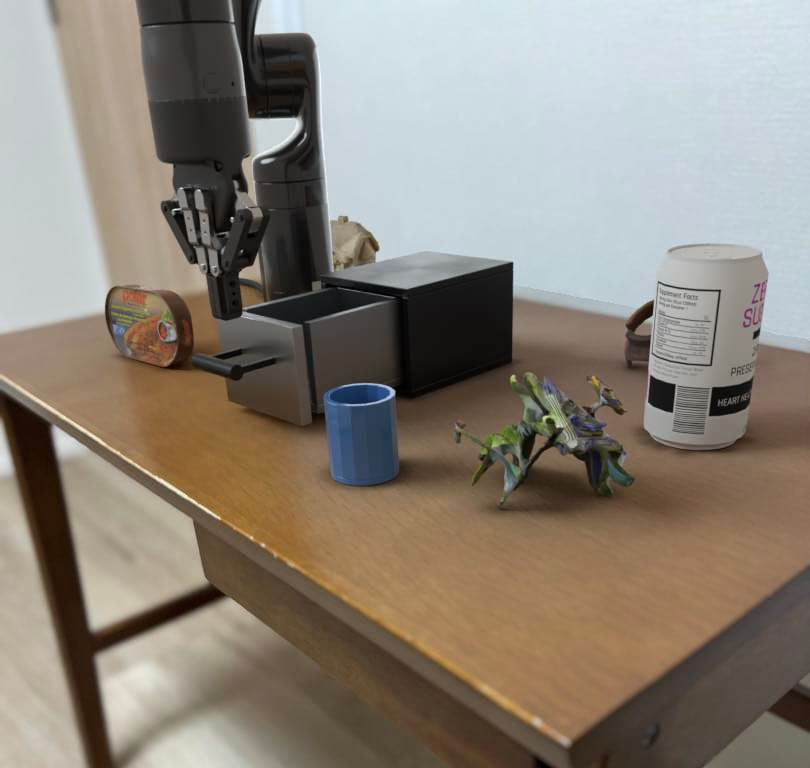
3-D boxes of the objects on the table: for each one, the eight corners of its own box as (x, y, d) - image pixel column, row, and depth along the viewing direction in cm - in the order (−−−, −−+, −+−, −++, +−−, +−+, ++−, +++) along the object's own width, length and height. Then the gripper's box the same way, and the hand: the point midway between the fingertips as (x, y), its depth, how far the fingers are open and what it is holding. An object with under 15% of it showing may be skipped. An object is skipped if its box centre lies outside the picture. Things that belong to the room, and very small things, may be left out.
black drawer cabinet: (412, 399, 86) (407, 289, 81) (328, 376, 94) (319, 274, 89) (512, 362, 95) (513, 261, 90) (428, 343, 103) (425, 250, 98)
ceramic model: (291, 285, 137) (284, 218, 133) (340, 273, 145) (335, 208, 140) (357, 295, 129) (352, 223, 124) (406, 281, 136) (403, 213, 132)
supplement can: (633, 419, 78) (648, 244, 71) (728, 417, 77) (751, 240, 71) (653, 454, 71) (672, 263, 64) (757, 451, 70) (787, 258, 63)
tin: (110, 352, 106) (95, 282, 103) (132, 347, 108) (119, 277, 105) (180, 373, 97) (168, 296, 93) (204, 367, 99) (192, 291, 95)
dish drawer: (257, 442, 75) (243, 340, 71) (184, 414, 82) (168, 320, 78) (416, 385, 87) (412, 295, 82) (340, 366, 94) (333, 282, 90)
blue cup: (317, 473, 70) (309, 396, 67) (367, 453, 74) (361, 378, 71) (363, 492, 67) (357, 411, 64) (413, 469, 70) (410, 391, 67)
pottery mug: (739, 382, 87) (713, 316, 83) (647, 419, 91) (618, 358, 86) (715, 322, 96) (690, 259, 91) (632, 358, 100) (604, 300, 95)
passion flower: (591, 557, 67) (681, 466, 58) (466, 565, 63) (541, 469, 53) (544, 438, 72) (620, 337, 63) (425, 438, 68) (488, 330, 58)
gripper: (288, 89, 66) (310, 320, 74) (191, 92, 74) (220, 299, 82) (203, 94, 61) (236, 340, 69) (110, 97, 70) (150, 315, 78)
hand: (227, 317), depth 76 cm, fingers closed
